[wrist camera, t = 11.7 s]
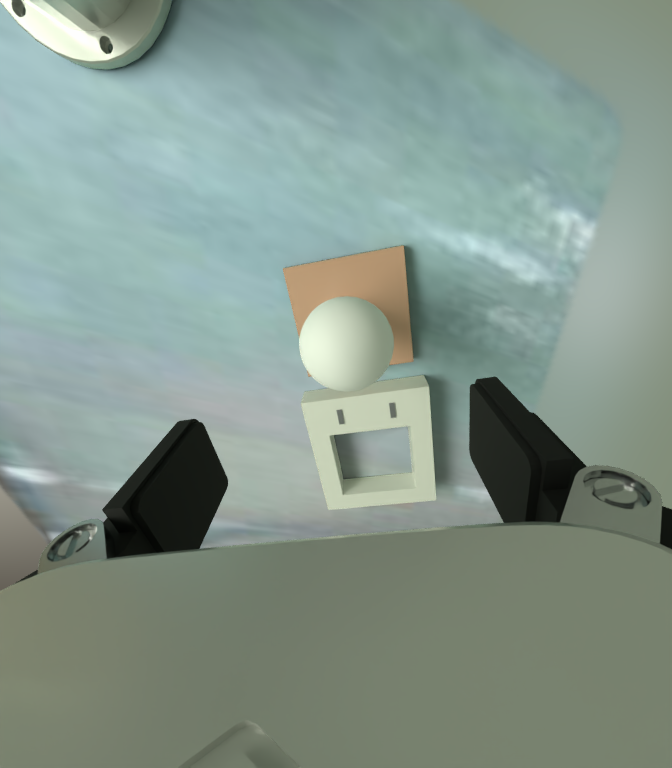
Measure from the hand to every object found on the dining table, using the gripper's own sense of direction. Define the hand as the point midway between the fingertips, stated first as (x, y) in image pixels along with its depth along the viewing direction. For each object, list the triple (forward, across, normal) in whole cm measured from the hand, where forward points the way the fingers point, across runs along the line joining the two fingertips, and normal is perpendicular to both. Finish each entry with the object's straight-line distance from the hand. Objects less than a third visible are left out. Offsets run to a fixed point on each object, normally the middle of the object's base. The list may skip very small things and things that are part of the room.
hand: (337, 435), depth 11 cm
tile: (+20, 0, +1) cm, 20 cm away
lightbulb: (+19, 0, +1) cm, 19 cm away
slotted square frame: (+19, 0, +15) cm, 24 cm away
